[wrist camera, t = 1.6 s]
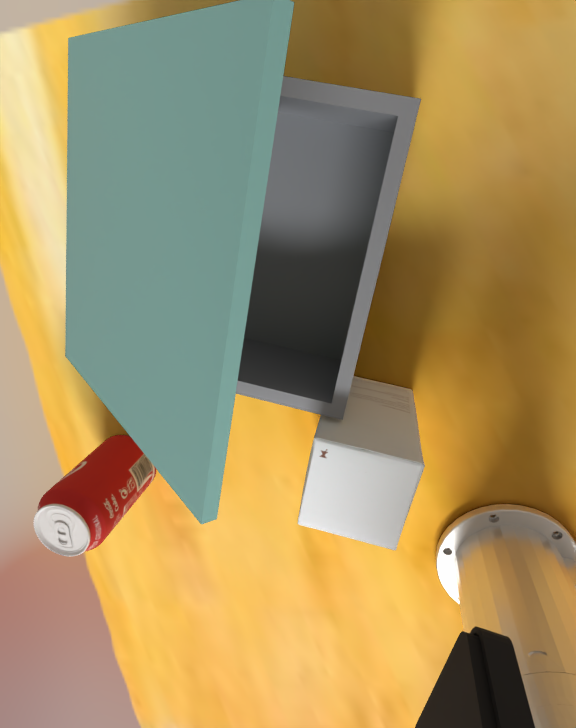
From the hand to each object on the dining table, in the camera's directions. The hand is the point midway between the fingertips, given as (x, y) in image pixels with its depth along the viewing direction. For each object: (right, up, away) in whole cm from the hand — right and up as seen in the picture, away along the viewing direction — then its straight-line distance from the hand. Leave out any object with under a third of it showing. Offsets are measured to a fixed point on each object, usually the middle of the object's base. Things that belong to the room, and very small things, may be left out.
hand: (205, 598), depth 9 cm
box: (-1, +15, +31) cm, 35 cm away
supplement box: (+9, 0, +35) cm, 36 cm away
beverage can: (-15, -5, +42) cm, 45 cm away
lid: (-6, +10, +16) cm, 20 cm away
